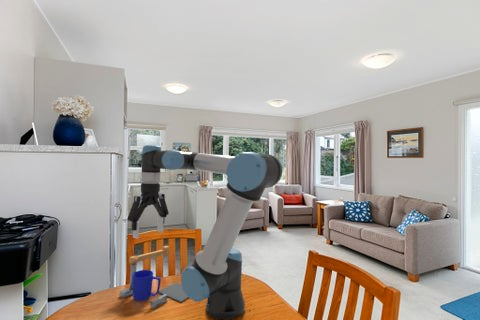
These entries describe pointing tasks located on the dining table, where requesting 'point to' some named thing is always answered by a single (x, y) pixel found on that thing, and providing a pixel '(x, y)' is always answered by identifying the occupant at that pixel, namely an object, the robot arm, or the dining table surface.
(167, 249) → the ball-tipped wooden rod
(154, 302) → the dock
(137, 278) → the mug
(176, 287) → the coaster
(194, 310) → the dining table surface
